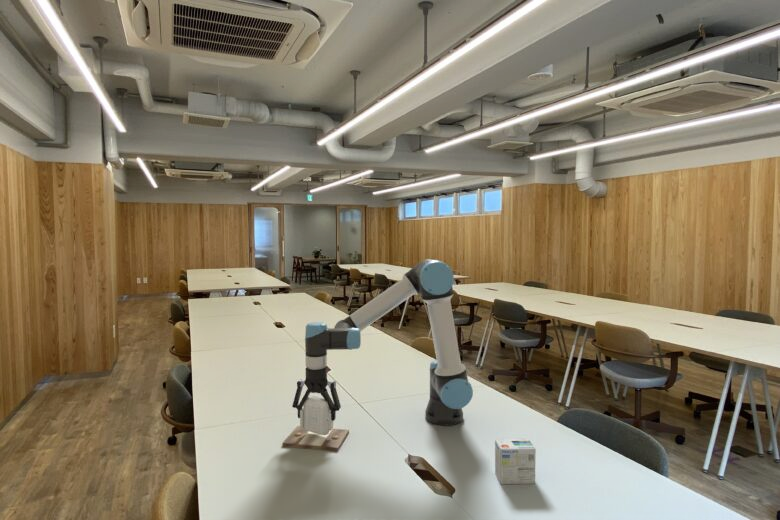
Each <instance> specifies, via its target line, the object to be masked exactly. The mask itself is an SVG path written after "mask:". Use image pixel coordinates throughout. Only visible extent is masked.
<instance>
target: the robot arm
mask: <svg viewBox="0 0 780 520" xmlns="http://www.w3.org/2000/svg"><path fill="white" fill-rule="evenodd" d="M454 282H455V277H454V272H453V270H452V268H451V267H450V265H448V264H447V263H446V262H444V261H441V260H437V259H433V258H426V259H423V260H421V261H419V262H418V263H417V264H415V265H414V267H412V268H411V269H409V270H408V271H407V272H405V273H404V274H403V275H402V278H401V279H400V280H398V281H397V282H395V283H394V284H393V285H391V286H390V287H388V288H387V289H385V290H384V291H383V292H381V293H380V294H378V295H377V296H375V297H374V298H372V299H371V300H370V301H368V302H366V304H364V305H363V306H361V307H360V308H358V309H357V310H355V311H354V312H353V313H351V314H350V315H348V316H347V317H345V318H343V319H341V320H338V321H337V323H336V324H335V325H334V327H333V328H330V327H329V328H328V325H327V323H326V322H324V321H323V322H322V321H321V322H320V321H313V322H309V323H307V324H306V325H305V334H304V335H305V336H304V340H305V341H304V343H305V380H303V379H302V378H301V379H299V380H298V381H296V385H297V386H296V390H295V391H296V392H295V395H294V398H293V402H292V406H291V407H292V408H294V409H297V418H298V419H299V426H300V428H303V414H304V413H303V408H304V402H305V401H306V399H307V398H308V397H310V394H311V393H312V394H313V393H314V394H320V395H321V396H322V398H323V399H324V400H325V401H326V402H328V406H329V409H330V411H329V431H331V430H332V428H333V429H334V421H335V420H336V414H337V413H336V412H339V410H340V409H341V406H342V405H341V403H340V398H339V395H338V392H337V389H336V387H337V382H336V381H328V367H327V365H328V350H329V351H330V350H331V351H333V350H335V351H336V350H339V351H341V350H350V351H351V350H358V349H360V347H361V342H362V341H361V339H362V338H361V337H362V336H361V333H362V332H361V331H363V330H364V329H366V328H368V327H369V326H370V325H372V324H373V323H374V322H375V323H376V322H377V321H379V319H381V318H382V317H384V316H385V315H386V314H388V313H389V312H391V311H392V310H394V309H395V308H396V307H399V305H401V304H402V303H403V302H405V301H407V300H408V299H409V298H410V297H412V296H414V295H415V296H418V295H420V296H421V300H422V301H423V302H424V303H426V305H427V306H426V307H427V311H428V319H429V323H430V328H431V335H432V340H433V347H434V353H435V358H436V360H433V361H431V362H430V364H429V399H428V403H427V406H426V409H425V411H424V412H425V416H424V417H425V420H426V421H428V422H429V423H432V424H434V425H439V426H454V425H458V424H461V422H463V421H464V411H463V408H465V407H466V406H468V405H469V403H470V402H471V401H472V399H473V396H474V390H473V387H472V384H471V383H470V382H469V379H468V371H467V367H466V365H465V364H463V363H462V361H461V355H460V351H459V349H460V348H459V343H458V339H457V333H456V326H455V321H454V314H453V309H452V304H451V303H452V302H451V299H452V298H453V296H454V289H453V284H454ZM304 386H305V387H306V388H307V389H306V391H305V394H303V397H302V398H301V395H302V394H301V393H302V391H303V387H304ZM327 386H328V388H329V389H330V394H329V391H328V389H327V388H326V387H327ZM330 395H331V396H330ZM300 398H301V400H300ZM299 401H300V402H299Z"/></svg>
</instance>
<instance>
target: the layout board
mask: <svg viewBox="0 0 780 520" xmlns="http://www.w3.org/2000/svg"><path fill="white" fill-rule="evenodd" d="M349 434H350V429H345V428H344V429H343V428H342V429H341V428H334V427H333V428H332V430H331V431H329V433H328V434H327V435H320V434H317V433H313V432H310V431H307V430H304V428H300V425H297V426H296V427H295V428H294V429H293V430H292V432H291V433H290V434H289V435H288V436H287V437H286V438H285V439H284V440H283V441H282V443H281V445H282V447H285V448H296V447H297V448H300V449H307V450H309V449H310V450H318V451H319V450H321V451H331V452H332V451H335V452H339V450H340V449H341V447H342V445H343V444H344V442H345V441H346V439H347V437H348V436H349ZM297 448H296V449H297Z"/></svg>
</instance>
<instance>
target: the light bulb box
mask: <svg viewBox="0 0 780 520" xmlns="http://www.w3.org/2000/svg"><path fill="white" fill-rule="evenodd" d="M536 450H537V449H536V447H535V446H534V444H533V443H532V442H531V440H530V439H529V438H518V439H517V438H516V439H510V438H509V439H494V453H495V454H494V472H495V473H494V474H495V476H496V478H497V480H498V482H499V484H500V485H517V484H519V485H523V484H525V485H528V484H529V485H530V484H534V485H535V484H536Z"/></svg>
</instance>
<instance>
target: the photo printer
mask: <svg viewBox="0 0 780 520" xmlns="http://www.w3.org/2000/svg"><path fill="white" fill-rule="evenodd" d="M302 408H303V413H304V414H303V428H304V430H307V431H310V432H313V433H317V434H320V435H327V434H328V433H329V411H330V409H329V406H328V402H326V401H325V400H324V398H323V397H320V396H315V395H314V396H310V395H309V396H308V398H307V399H306V401H305V402H304V405H303V407H302Z"/></svg>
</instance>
